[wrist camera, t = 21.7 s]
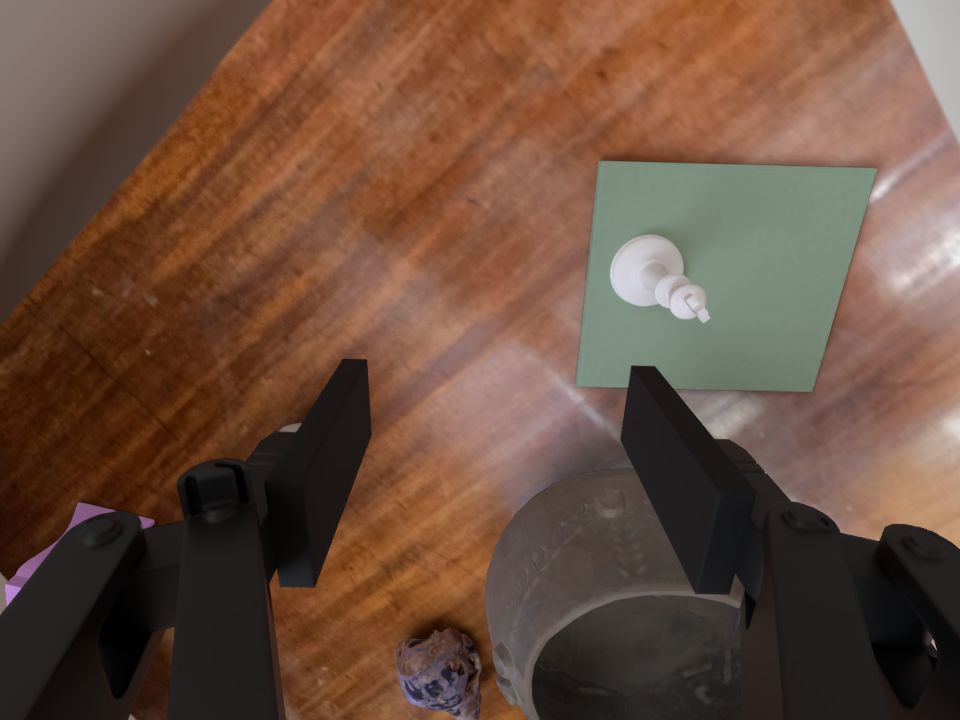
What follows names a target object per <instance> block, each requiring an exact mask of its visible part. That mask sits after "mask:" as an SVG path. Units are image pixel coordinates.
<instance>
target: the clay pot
mask: <svg viewBox="0 0 960 720" xmlns="http://www.w3.org/2000/svg"><path fill="white" fill-rule="evenodd" d="M744 591H745V589H744V587H743V585H742V584H741V582H740V580H739V579H738V577H737V575H736V574H735V576H734V579H733V583H732V587H731V591H730V594H729V595H721V594H695V592H694V590H693V588H692V586H691V584H690V582H689V580H688V578H687V576H686V574H685V572H684V570H683V568H682V566H681V564H680V562H679V559H678V557H677V555H676V553H675V551H674V549H673V547H672V545H671V543H670V541H669V539H668V537H667V535H666V533H665V531H664V529H663V527H662V525H661V522H660V520H659V518H658V516H657V514H656V512H655V510H654V508H653V506H652V504H651V502H650V500H649V498H648V496H647V494H646V492H645V490H644V487H643V485H642V483H641V481H640V479H639V477H638V475H637V473H636V471H635V469H634V468H625V469H606V470H600V471H594V472H587V473H581V474H579V475H576V476H573V477H570V478H567V479H564V480H561V481H558V482H556V483H555V484H553V485H551V486H550V487H548V488H546V489H544V490H543V491H541V492H539V493H538V494H536V495H535V496H534V497H533V498H532V499H531V500H530V501H528V502H527V503H526V504H525V505H524V506H523V507H522V508H521V509H520V510H519V511H518V512H517V513H516V515H515V516H514V518H513V519H512V520H511V522H510V523H509V525H508V526H507V528H506V529H505V531H504V532H503V533H502V535H501V537H500V539H499V541H498V543H497V545H496V548H495V551H494V554H493V557H492V560H491V563H490V566H489V568H488V574H487V583H486V593H485V607H486V616H487V626H488V631H489V635H490V639H491V642H492V646H493V650H492V655H493V661H494V665H495V668H496V671H497V673H498V676H497V679H496V683H497V685H498V687H499V689H500V690H501V692H502V694H503V695H504V696H505V697H506V699H507V700H508V702H509V705H511V706H513V705H516V704H518V706H519V707H520V709H521V710H522V711H523V713H524V714H525V716H526V717H527V718H528V720H741V628H740V631H739V633H737V632H734V631H733V630H734V626H735V622H736V619H737V615H738V612H739V608H740V605H741V601H742V598H743V594H744Z"/></svg>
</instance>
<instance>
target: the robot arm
mask: <svg viewBox="0 0 960 720" xmlns="http://www.w3.org/2000/svg"><path fill="white" fill-rule="evenodd" d="M371 435H372V433H371V417H370V400H369V383H368V367H367V359H343V360H342V361H341V363H340V364H339V366H338V368H337V369H336V371H335V372H334V374H333V375H332V377H331V378H330V380H329V382H328V383H327V385H326V386H325V388H324V389H323V391H322V392H321V394H320V396H319V397H318V399H317V400H316V402H315V403H314V405H313V406H312V408H311V410H310V411H309V413H308V414H307V416H306V417H305V419H304V420H303V422H302V424H301V425H300V427H299V428H298V430H297V431H296V432H281V431H276V432H274V433H273V434H271V435H270V436H268V437H267V438H265V439H264V440H262V441H261V442H260V443H259V444H258V446H257V447H256V448H255V450H254V451H253V452H252V455H250V456H249V458H248V459H247V460H246V462H244V461H242V460H240V459H232V458H223V459H214V460H210V461H207V462H203V463H200V464H198V465H196V466H194V467H192V468H190V469H188V470H187V471H186V472H185V473H184V474H182V475H181V476H180V478H179V480H178V482H177V488H178V493H179V497H180V501H181V506H182V510H183V514H184V520H183V521H179V522H175V523H171V524H166V525H160V526H155V527H149V528H144V529H143V527H142V523H141V520H140V518H139V517H138V515H137V514H134V513H131V512H129V511H114V512H108V513H102V514H99V515H96V516H93V517H90V518H88V519H86V520H84V521H82V522H81V523H79V524H77V525H75V526H74V527H72V528H71V529H70V530H69V531H68V532H66V533H65V534H64V535H63V536H62V537H61V538H60V540H59V541H58V542H57V544H56V545H55V546H54V547H53V549H52V550H51V551H50V552H49V554H48V555H47V556H46V558H45V559H44V560H43V561H42V563H41V564H40V565H39V567H38V568H37V569H36V570H35V572H34V573H33V574H32V575H31V577H30V578H29V579H28V581H27V582H26V583H25V584H24V586H23V587H22V588H21V589H20V591H19V592H18V593H17V595H16V596H15V597H14V598H13V600H12V601H11V602H10V603H9V605H8V606H7V607H6V609H5V610H4V611H3V612H2V614H1V615H0V720H128V718H129V716H130V713H131V711H132V709H133V706H134V704H135V702H136V699H137V697H138V694H139V692H140V690H141V687H142V685H143V682H144V680H145V678H146V675H147V673H148V671H149V668H150V666H151V663H152V661H153V659H154V656H155V654H156V652H157V649H158V647H159V644H160V642H161V640H162V637H163V635H164V632H165V630H166V629H167V628H171V627H175V632H174V644H173V655H172V666H171V678H170V689H169V701H168V712H167V720H286V717H285V708H284V700H283V692H282V683H281V675H280V666H279V658H278V649H277V641H276V632H275V624H274V615H273V607H272V598H271V592H270V586H269V583H270V581H271V579H272V577H273V575H274V573H275V570H276V568H277V571H278V578H279V584H280V587H313V588H315V585H316V583H317V580H318V577H319V575H320V572H321V569H322V567H323V564H324V561H325V559H326V556H327V553H328V551H329V548H330V545H331V543H332V540H333V537H334V534H335V532H336V529H337V526H338V524H339V521H340V518H341V516H342V513H343V510H344V508H345V505H346V502H347V500H348V497H349V494H350V492H351V489H352V486H353V484H354V481H355V478H356V475H357V473H358V470H359V467H360V465H361V462H362V459H363V457H364V454H365V451H366V449H367V446H368V443H369V441H370V438H371ZM621 442H622V444H623V446H624V448H625V450H626V453H627V455H628V457H629V459H630V461H631V463H632V465H633V467H634V469H635V471H636V473H637V475H638V477H639V479H640V481H641V483H642V485H643V487H644V490H645V492H646V494H647V496H648V498H649V500H650V502H651V504H652V506H653V508H654V510H655V512H656V514H657V516H658V518H659V520H660V522H661V525H662V527H663V529H664V531H665V533H666V535H667V537H668V539H669V541H670V543H671V545H672V547H673V549H674V551H675V553H676V555H677V557H678V559H679V562H680V564H681V566H682V568H683V570H684V572H685V574H686V576H687V578H688V580H689V582H690V584H691V586H692V588H693V590H694V592H695V594H721V595H729V594H730V591H731V587H732V583H733V579H734V576H735V574H736V575H737V577H738V579H739V580H740V582H741V584H742V585H743V587H744V589H745V591H744V594H743V598H742V601H741V605H740V608H739V612H738V615H737V619H736V622H735V626H734V630H733V631H734V632H737V633H739V631H740V628H741V720H960V549H959V548H958V547H956V546H955V545H954V544H953V543H952V542H950V541H948V540H946V539H945V538H943V537H941V536H939V535H938V534H937V533H934V532H932V531H930V530H929V531H928V530H927V529H924V528H921V527H915V526H911V525H907V524H892V525H889V526H886V527H885V528H884V531H883V533H882V536H881V538H880V541H875V540H871V539H866V538H862V537H857V536H852V535H848V534H844V533H840V530H839V528H838V527H837V525H836V523H835V522H834V521H833V520H832V519H830V518H829V517H828V516H827V515H826V514H824V513H822V512H820V511H818V510H817V509H815V508H813V507H810V506H807V505H804V504H801V503H797V502H791V501H790V500H789V498H788V497H787V496H786V495H785V494H784V493H783V492H782V490H781V489H780V488H779V487H778V486H777V485H776V484H775V483H774V481H773V480H772V479H771V478H770V477H769V476H768V475H767V474H765V473H764V472H765V471H764V470H763V469H762V468H761V467H760V466H759V464H756V461H755V460H754V459H753V458H752V457H751V455H750V454H749V453H748V452H747V451H746V450H745V449H743V448H742V447H740V446H739V445H737V444H735V443H734V442H732V441H731V440H729V439H714V438H713V437H712V436H711V434H710V433H709V432H708V431H707V429H706V428H705V427H704V426H703V425H702V423H701V422H700V421H699V420H698V418H697V417H696V416H695V415H694V413H693V412H692V411H691V410H690V408H689V407H688V406H687V405H686V404H685V402H684V401H683V400H682V399H681V397H680V396H679V395H678V394H677V392H676V391H675V390H674V389H673V388H672V386H671V385H670V384H669V383H668V381H667V380H666V379H665V378H664V376H663V375H662V374H661V373H660V371H659V370H658V369H657V368H656V367H655V366H635V365H631V371H630V378H629V385H628V391H627V398H626V405H625V412H624V419H623V426H622V433H621ZM932 639H933V640H934V641H935V645H936V648H937V651H936V649H935V648H934V646H933V645H932V643H931V641H932Z"/></svg>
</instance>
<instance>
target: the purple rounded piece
mask: <svg viewBox="0 0 960 720" xmlns="http://www.w3.org/2000/svg"><path fill="white" fill-rule="evenodd" d="M473 645H474V642H473V640H471V639H469V637H468V636H467V635H466V634H461V633H460V632H458V631H457V630H455V629H452V628H447V629H445V630H444V631H443V632H439V631H437V630H434V633H433V634H432V635H431V636H430V637H429V638H427V639H422V640H419V639H409V638H407V639H406V640H404V642H403V643H402V644H399V645H398V646H397V649H396V651H395V654H394V657H395V664H396V666H397V674H398V681H399V685H400V688H401V690H402V692H403V694H404V697H405V699H406V700H407V701H408V702H409V703H411V704H413V705H416V706H419V707H421V708H425V709H432V710H436V711H447V712H448V713H450V715H451V716H452V717H453V718H454V719H456V720H478V719H479V713H480V704H481V699H482V697H481V693H480V681H479V675H480V673H481V670H482V664H481V660H480V657H479V654H478V652H477V651H476V650H475V649H474V648H473ZM469 658H470V659H471V660H472V661H473V662H474V663H475V664H474V666H473V665H471V664H470V663H469Z"/></svg>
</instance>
